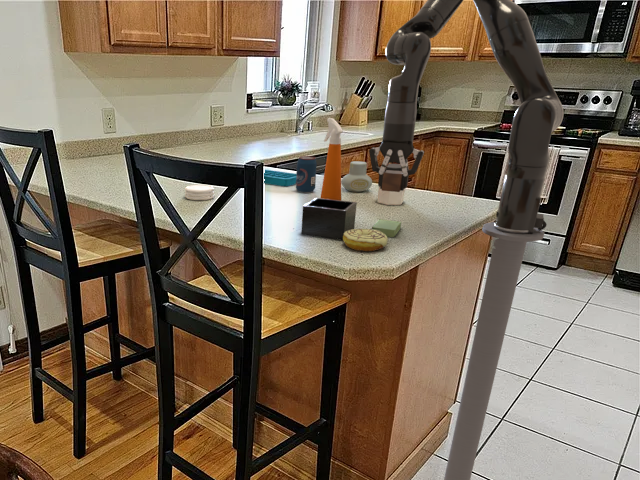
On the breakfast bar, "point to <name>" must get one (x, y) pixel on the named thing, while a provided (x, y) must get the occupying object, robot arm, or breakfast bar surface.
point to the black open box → (328, 218)
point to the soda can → (306, 174)
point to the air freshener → (357, 177)
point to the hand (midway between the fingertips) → (392, 189)
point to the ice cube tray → (279, 178)
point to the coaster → (199, 192)
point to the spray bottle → (332, 163)
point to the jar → (390, 196)
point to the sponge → (387, 227)
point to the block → (392, 181)
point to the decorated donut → (365, 239)
